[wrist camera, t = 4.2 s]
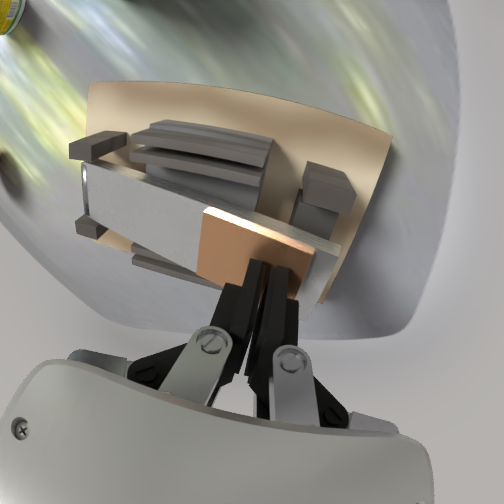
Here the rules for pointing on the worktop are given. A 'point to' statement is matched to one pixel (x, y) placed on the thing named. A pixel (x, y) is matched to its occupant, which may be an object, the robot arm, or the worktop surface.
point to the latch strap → (206, 231)
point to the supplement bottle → (10, 14)
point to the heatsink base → (235, 158)
